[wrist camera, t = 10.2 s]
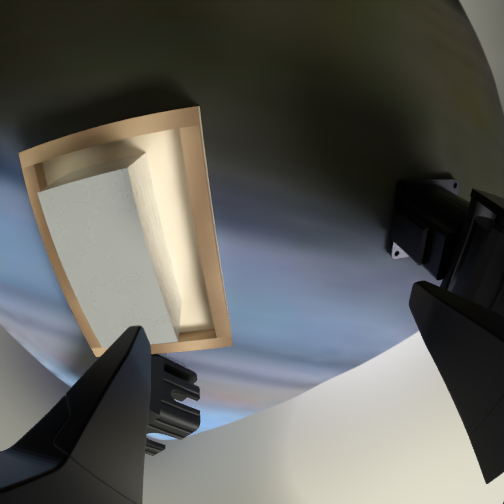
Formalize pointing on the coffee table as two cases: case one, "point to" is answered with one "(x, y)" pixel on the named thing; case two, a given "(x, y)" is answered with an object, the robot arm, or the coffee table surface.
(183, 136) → the beech stand
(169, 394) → the end cap
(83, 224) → the block
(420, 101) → the coffee table surface
